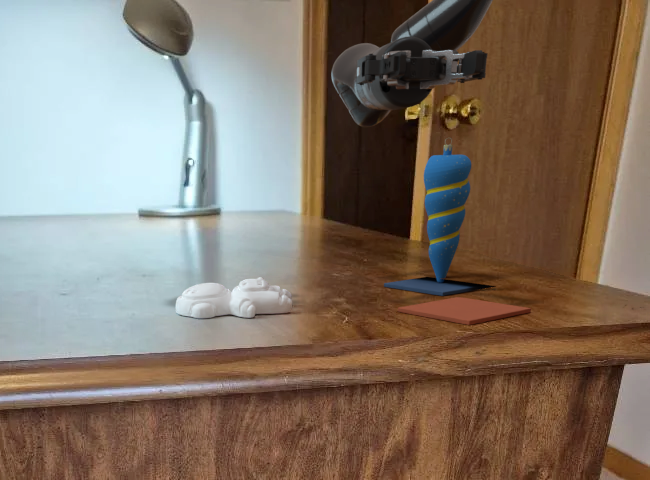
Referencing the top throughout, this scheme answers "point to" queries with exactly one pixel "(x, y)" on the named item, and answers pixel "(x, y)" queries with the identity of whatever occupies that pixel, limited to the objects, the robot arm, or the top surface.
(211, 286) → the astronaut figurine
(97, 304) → the top surface
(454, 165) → the ornament
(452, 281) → the blue pad
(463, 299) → the terracotta pad
